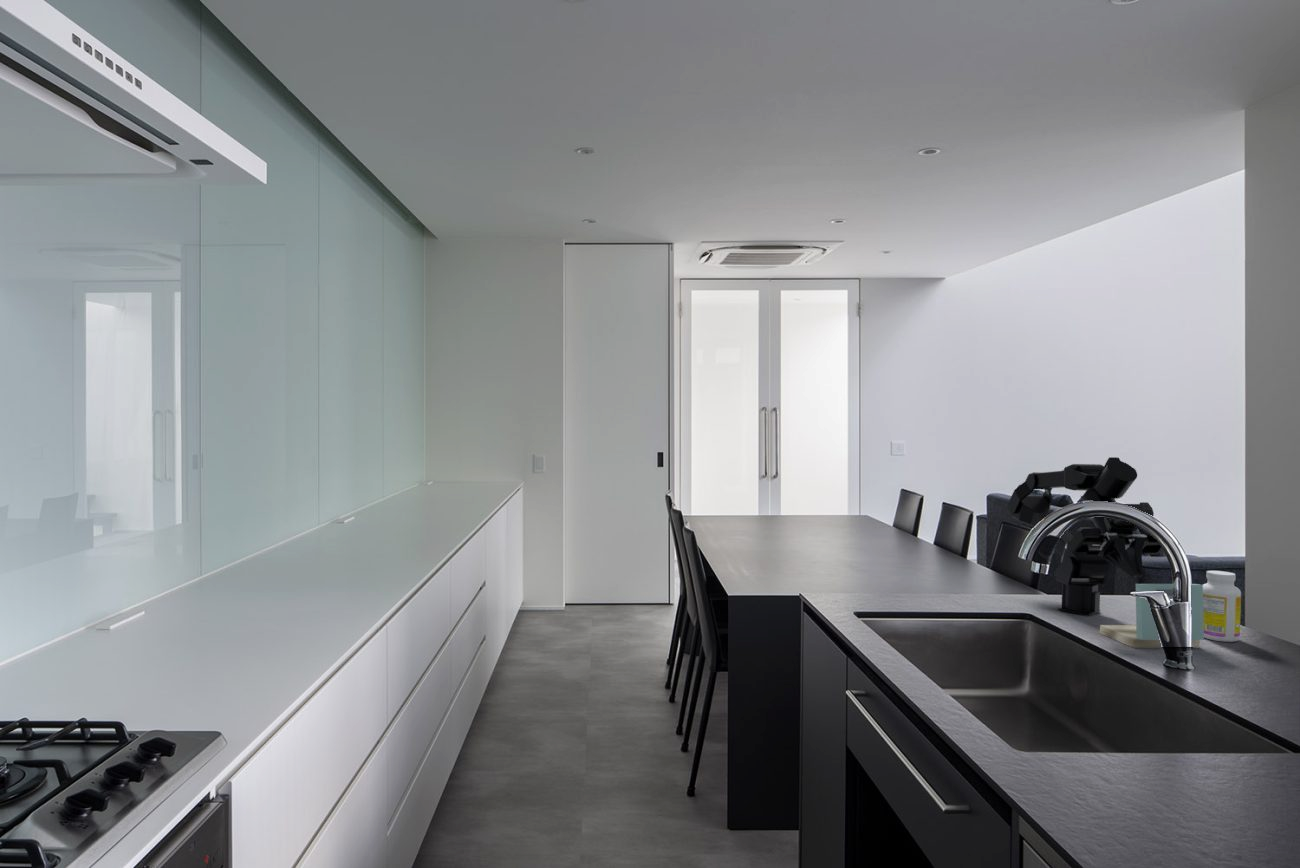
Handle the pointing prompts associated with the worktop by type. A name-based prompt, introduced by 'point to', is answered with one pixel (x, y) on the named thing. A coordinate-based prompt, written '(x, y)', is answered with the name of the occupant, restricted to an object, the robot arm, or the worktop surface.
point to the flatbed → (1132, 636)
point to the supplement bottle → (1221, 607)
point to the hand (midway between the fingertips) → (1138, 576)
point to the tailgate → (1143, 611)
